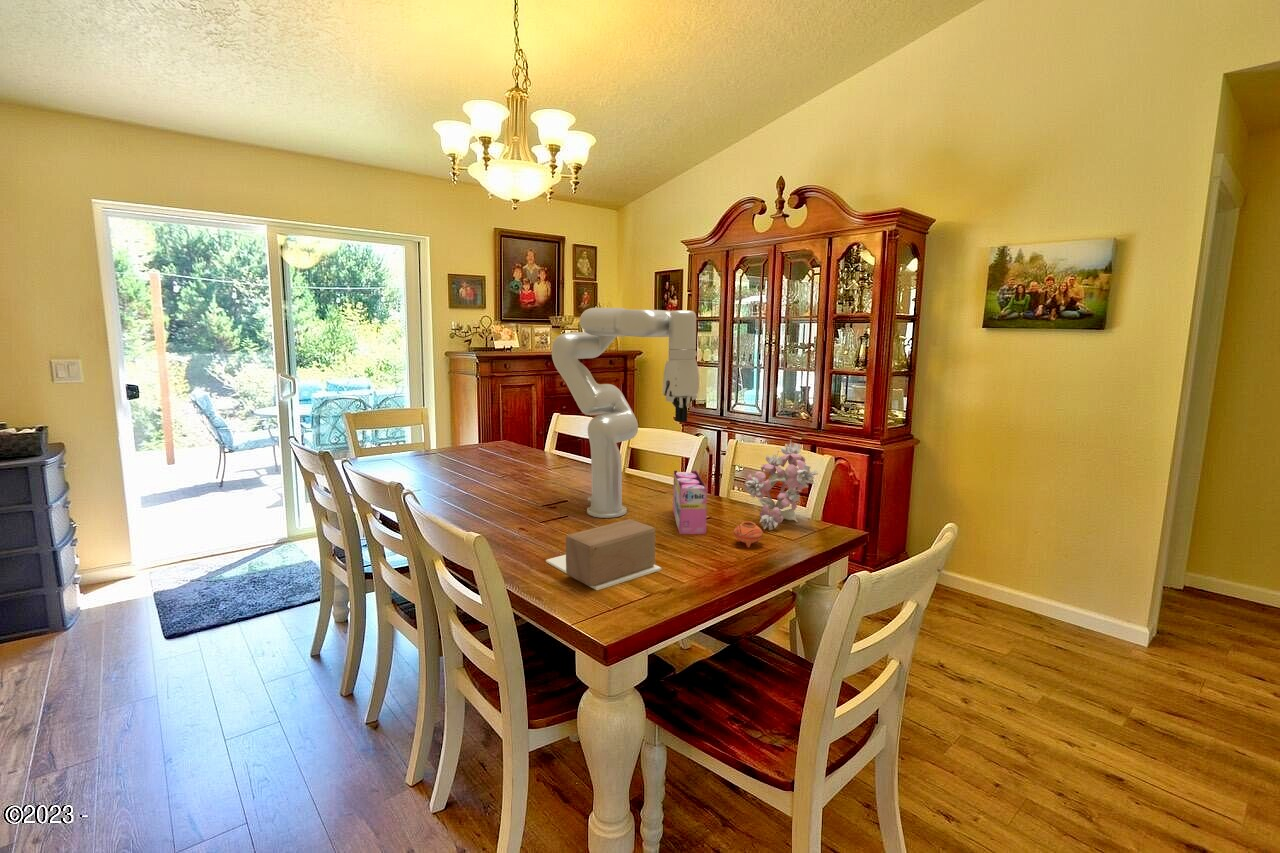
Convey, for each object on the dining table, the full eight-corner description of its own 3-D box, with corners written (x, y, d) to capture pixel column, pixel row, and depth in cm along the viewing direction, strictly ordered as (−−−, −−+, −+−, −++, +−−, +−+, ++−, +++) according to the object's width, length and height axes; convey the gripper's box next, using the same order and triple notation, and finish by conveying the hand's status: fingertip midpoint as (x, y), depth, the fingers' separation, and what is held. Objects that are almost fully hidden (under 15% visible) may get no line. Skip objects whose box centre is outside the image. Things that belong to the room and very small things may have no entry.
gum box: (671, 510, 197) (672, 469, 195) (696, 510, 198) (696, 469, 196) (679, 534, 174) (679, 488, 172) (707, 534, 174) (707, 487, 172)
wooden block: (656, 526, 147) (589, 545, 134) (656, 566, 148) (590, 588, 135) (629, 517, 154) (563, 534, 141) (630, 555, 156) (564, 575, 143)
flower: (719, 509, 193) (733, 445, 179) (779, 494, 202) (796, 433, 188) (753, 553, 178) (771, 488, 164) (816, 536, 187) (838, 473, 173)
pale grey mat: (545, 562, 153) (545, 559, 152) (607, 545, 164) (607, 543, 164) (596, 590, 136) (596, 587, 136) (661, 569, 148) (661, 567, 147)
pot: (751, 536, 171) (755, 515, 169) (765, 551, 164) (770, 529, 162) (725, 538, 168) (730, 517, 166) (739, 554, 162) (744, 532, 159)
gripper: (692, 354, 177) (691, 417, 180) (652, 355, 168) (652, 422, 170) (710, 355, 171) (709, 420, 174) (670, 356, 162) (669, 425, 165)
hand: (681, 421), depth 172 cm, fingers closed
